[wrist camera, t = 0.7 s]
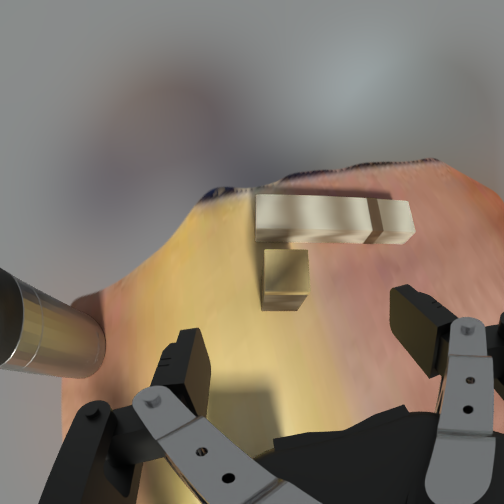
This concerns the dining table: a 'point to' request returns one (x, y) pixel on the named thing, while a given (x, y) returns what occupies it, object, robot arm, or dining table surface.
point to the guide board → (332, 219)
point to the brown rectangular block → (284, 279)
